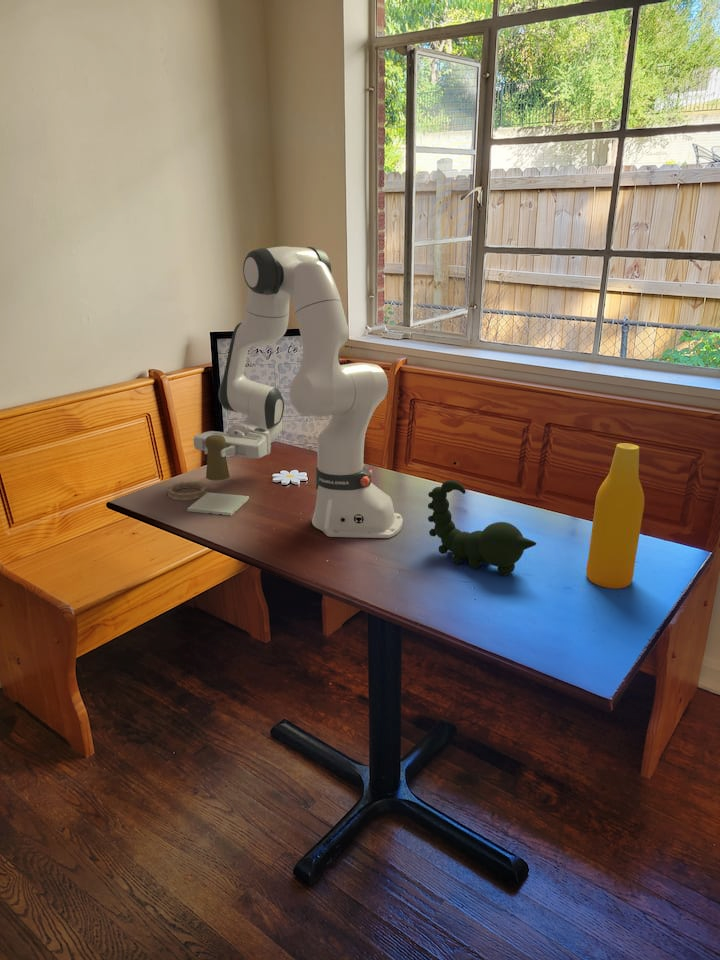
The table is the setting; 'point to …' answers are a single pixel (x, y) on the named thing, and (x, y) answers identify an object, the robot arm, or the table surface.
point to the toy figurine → (475, 536)
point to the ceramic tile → (218, 503)
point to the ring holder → (187, 495)
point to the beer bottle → (617, 521)
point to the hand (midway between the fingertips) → (213, 452)
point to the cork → (216, 458)
